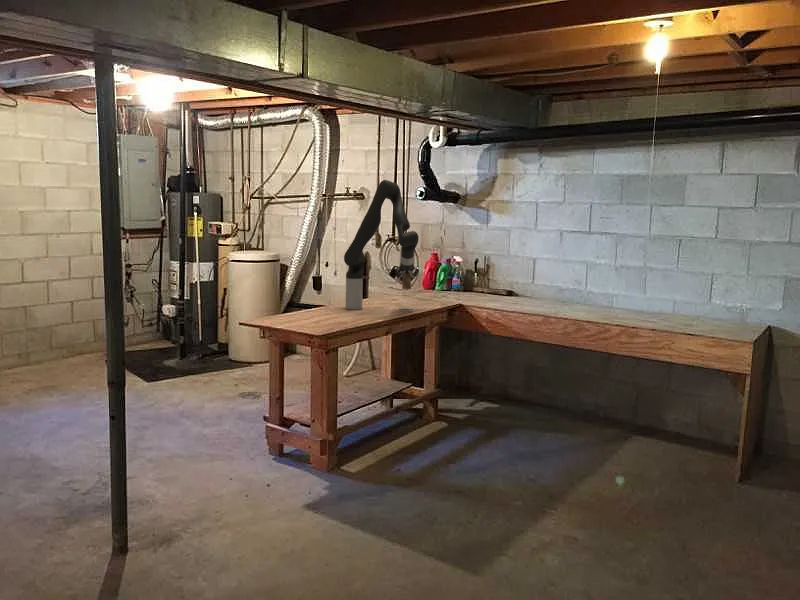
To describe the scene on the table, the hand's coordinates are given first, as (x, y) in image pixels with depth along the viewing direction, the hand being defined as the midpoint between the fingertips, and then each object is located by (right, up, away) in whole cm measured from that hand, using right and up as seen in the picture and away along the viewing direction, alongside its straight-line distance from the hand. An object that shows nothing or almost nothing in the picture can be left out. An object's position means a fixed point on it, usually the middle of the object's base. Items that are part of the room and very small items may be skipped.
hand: (406, 279), depth 373 cm
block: (0, -5, -1) cm, 5 cm away
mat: (0, -17, 0) cm, 17 cm away
